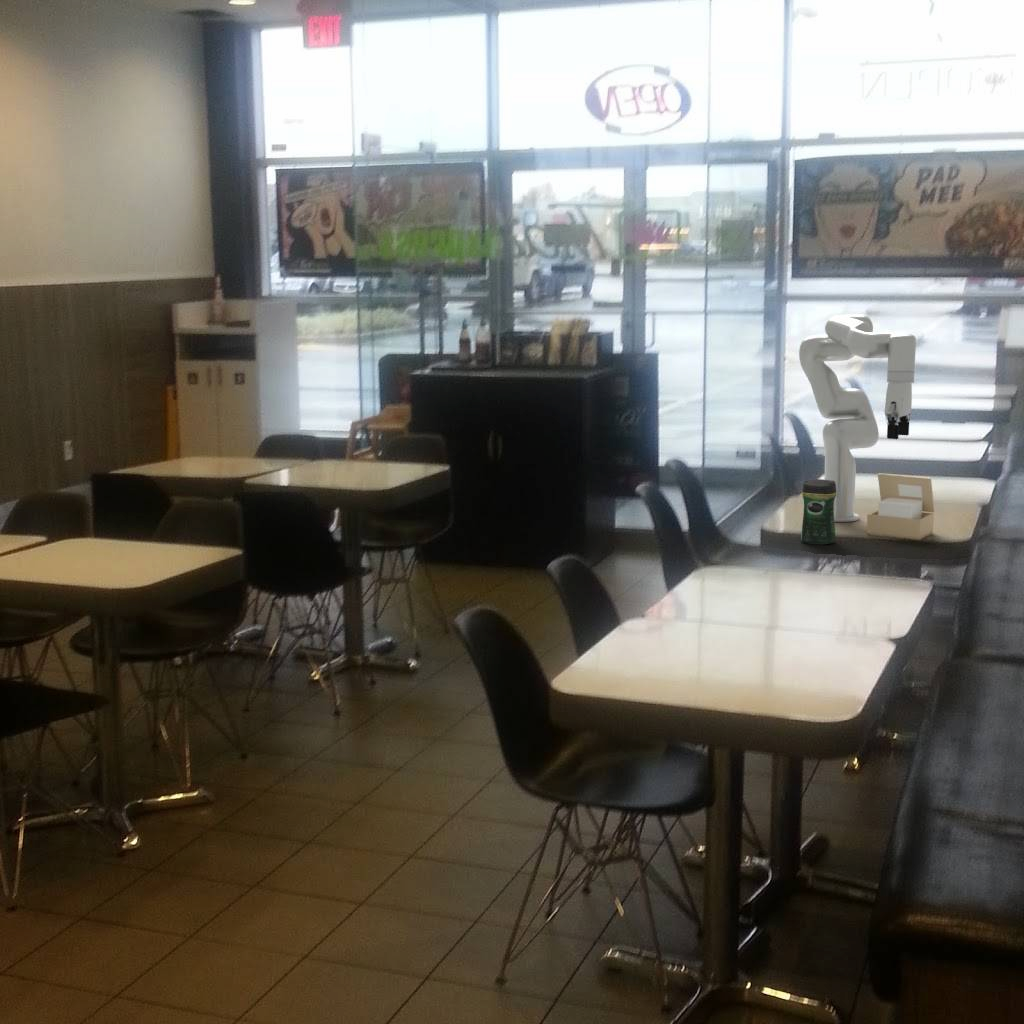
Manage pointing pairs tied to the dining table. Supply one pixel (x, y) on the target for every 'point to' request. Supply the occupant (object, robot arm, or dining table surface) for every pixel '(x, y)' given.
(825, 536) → the coffee jar
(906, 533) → the mailer box
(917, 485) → the lid
